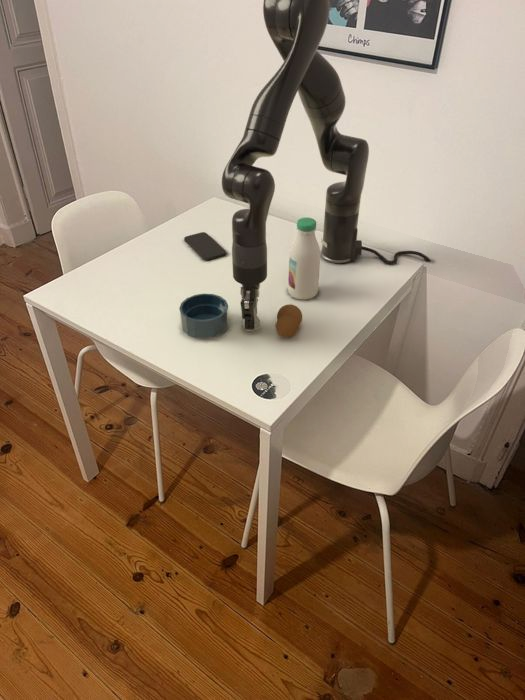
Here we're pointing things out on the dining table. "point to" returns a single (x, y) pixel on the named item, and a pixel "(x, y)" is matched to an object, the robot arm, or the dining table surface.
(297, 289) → the milk bottle
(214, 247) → the phone
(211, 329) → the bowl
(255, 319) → the rook chess piece
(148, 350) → the dining table surface
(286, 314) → the potato
